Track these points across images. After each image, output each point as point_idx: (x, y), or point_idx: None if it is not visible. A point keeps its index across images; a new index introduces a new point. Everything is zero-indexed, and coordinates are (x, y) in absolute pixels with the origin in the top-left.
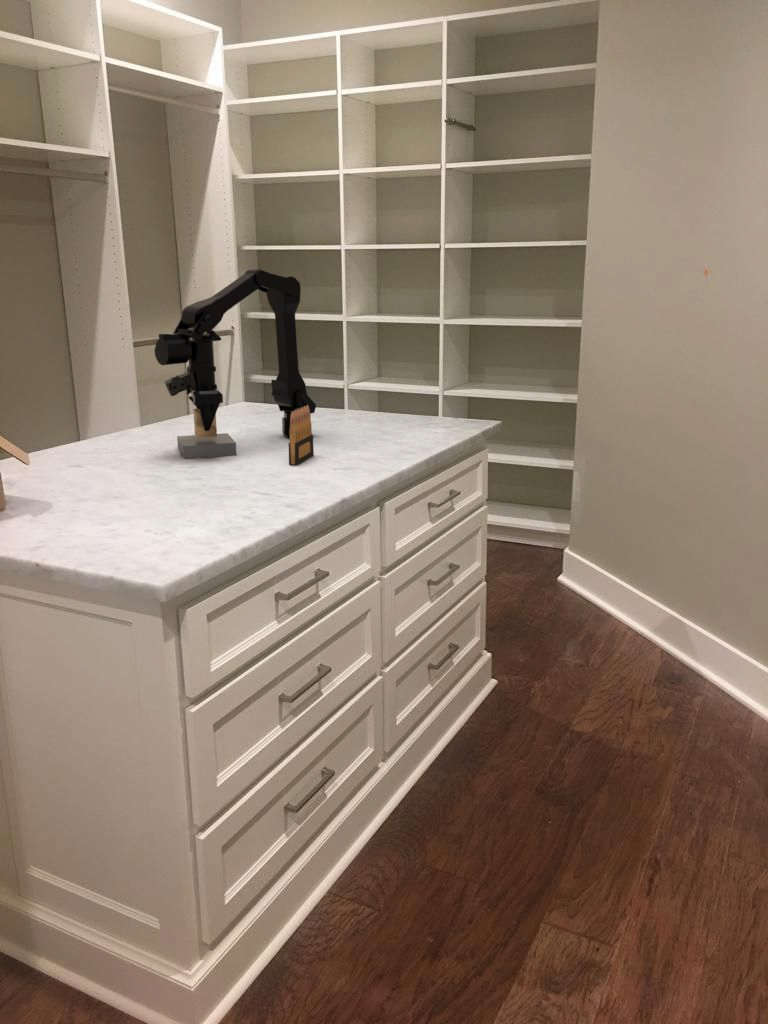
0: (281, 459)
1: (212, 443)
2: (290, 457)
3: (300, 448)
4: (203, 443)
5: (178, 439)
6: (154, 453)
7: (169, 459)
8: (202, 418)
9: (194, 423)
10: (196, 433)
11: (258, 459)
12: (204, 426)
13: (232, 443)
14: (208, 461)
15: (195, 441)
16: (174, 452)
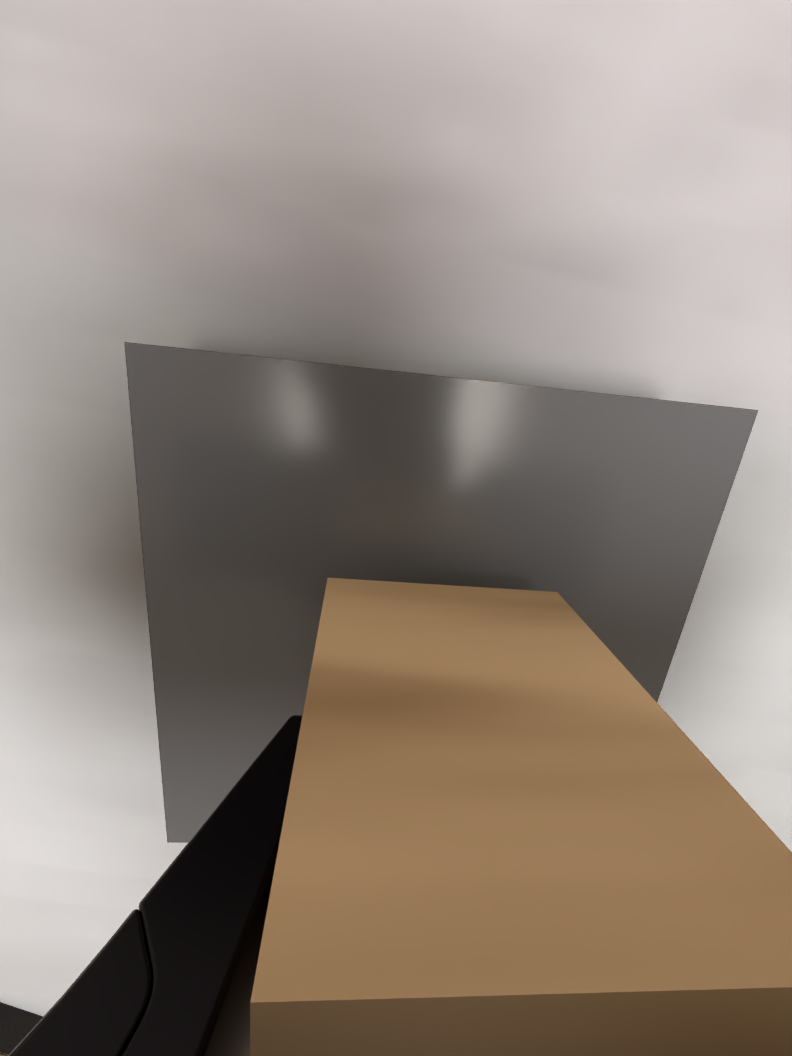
0: (4, 934)
1: (185, 671)
2: None
3: None
4: (214, 594)
5: (618, 395)
6: (583, 107)
7: (220, 202)
8: (148, 898)
9: (605, 676)
10: (398, 600)
11: (33, 837)
12: (256, 762)
13: (166, 813)
14: (35, 534)
15: (359, 540)
16: (524, 333)
